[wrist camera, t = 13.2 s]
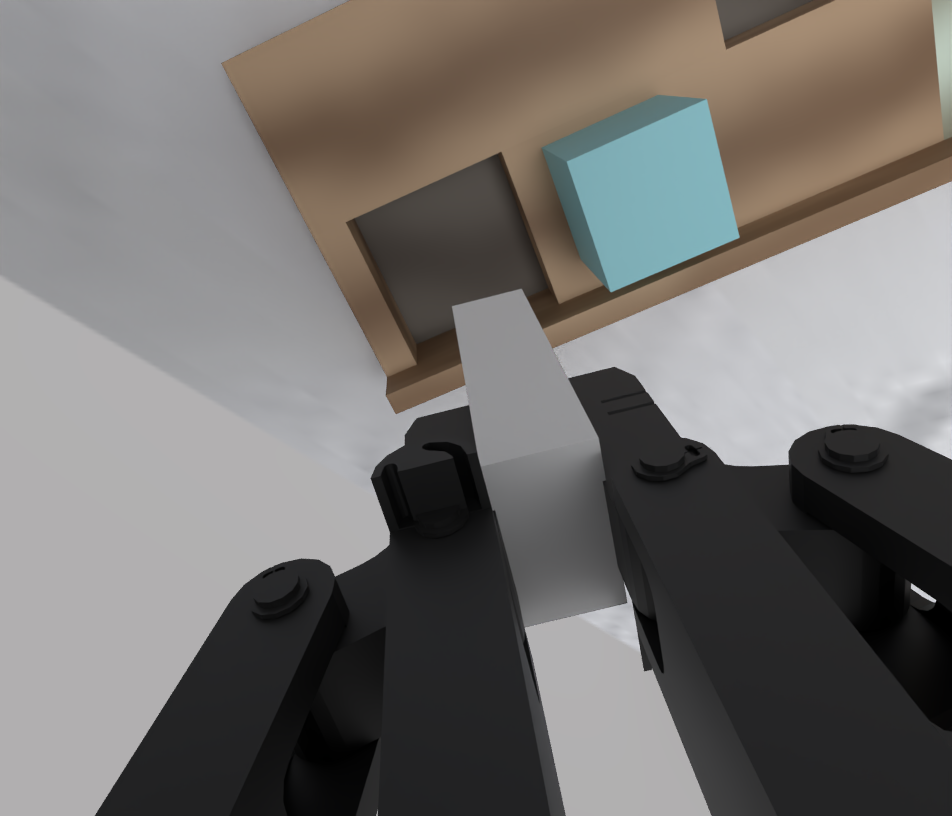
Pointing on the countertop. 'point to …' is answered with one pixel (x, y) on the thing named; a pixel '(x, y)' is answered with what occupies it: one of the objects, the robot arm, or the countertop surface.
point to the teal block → (643, 189)
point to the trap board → (565, 112)
